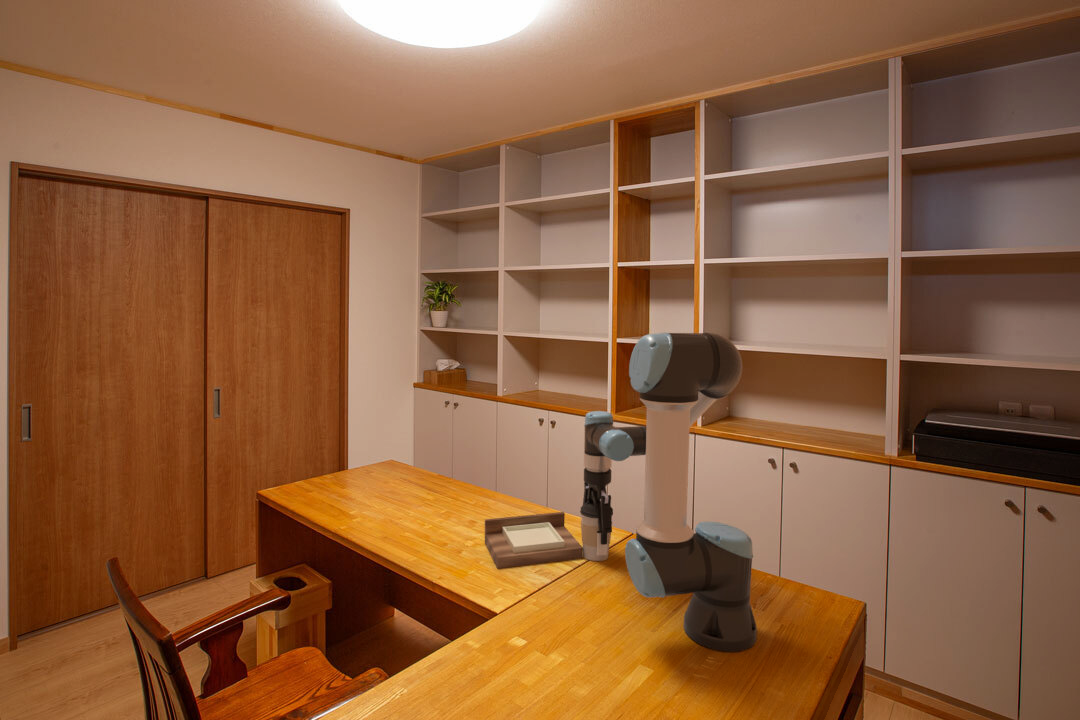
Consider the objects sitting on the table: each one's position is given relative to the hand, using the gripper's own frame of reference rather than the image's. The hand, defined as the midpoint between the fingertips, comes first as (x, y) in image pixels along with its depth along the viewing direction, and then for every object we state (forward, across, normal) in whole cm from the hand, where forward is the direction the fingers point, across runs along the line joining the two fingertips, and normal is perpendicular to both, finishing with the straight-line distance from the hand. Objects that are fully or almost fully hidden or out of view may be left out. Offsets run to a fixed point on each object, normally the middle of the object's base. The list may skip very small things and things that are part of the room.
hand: (595, 547), depth 166 cm
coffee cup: (+3, 0, 0) cm, 3 cm away
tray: (-1, +8, +16) cm, 18 cm away
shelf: (+2, +8, +16) cm, 18 cm away
